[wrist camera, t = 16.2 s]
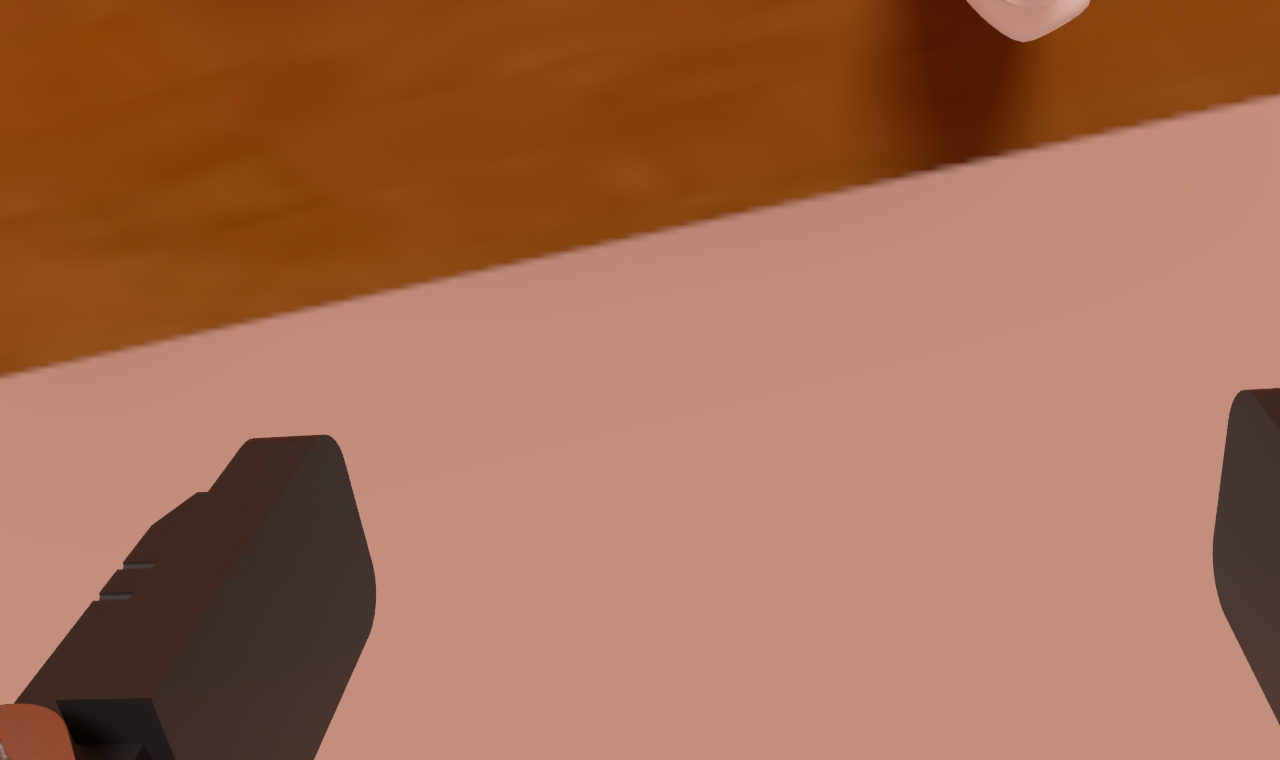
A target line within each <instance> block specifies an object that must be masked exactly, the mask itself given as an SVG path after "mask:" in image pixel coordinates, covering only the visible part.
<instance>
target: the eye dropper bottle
mask: <svg viewBox="0 0 1280 760" xmlns="http://www.w3.org/2000/svg"><path fill="white" fill-rule="evenodd" d="M966 1H967V2H968V3H969V4H970V5H971V6H972V8H973V9H974V10H975V11H976V12H977V13H978V14H979V15H980V16H981V17H982V18H984V19H985V20H986V21H987V22H988V23H989V24H990V25H992V26H993V27H994V28H996V29H997V30H998V31H999V32H1001V33H1002V34H1004V35H1006V36H1007V37H1009V38H1011V39H1013V40H1016V41H1021V42H1027V41H1031V40H1035V39H1037V38H1039V37H1042V36H1044V35H1046V34H1048V33H1050V32H1051V31H1053V30H1055V29H1057V28H1059V27H1060V26H1062V25H1064V24H1066V23H1067V22H1069V21H1071V20H1072V19H1074V18H1075V17H1077V16H1078V15H1080V14H1081V13H1082V12H1083V11H1084V9H1085V8H1086V7H1087V6H1088V5H1089V3H1090V0H966Z"/></svg>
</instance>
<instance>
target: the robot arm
mask: <svg viewBox="0 0 1280 760" xmlns="http://www.w3.org/2000/svg"><path fill="white" fill-rule="evenodd" d="M123 564H124V567H123V570H117V571H116V572H115V573H114V575H113V576H112V577H111V579H110V580H109V581H108V583H107V584H106V585H105V586H104V588H103V589H102V590H101V592H100V593H99V594H100V599H99V601H93V602H92V603H91V604H90V606H89V607H88V608H87V610H86V611H85V612H84V614H83V615H82V616H81V617H80V619H79V620H78V621H77V623H76V624H75V625H74V626H73V628H72V629H71V630H70V632H69V633H68V634H67V635H66V637H65V638H64V639H63V641H62V642H61V643H60V644H59V646H58V647H57V648H56V650H55V651H54V652H53V654H52V655H51V656H50V657H49V659H48V660H47V661H46V663H45V664H44V665H43V667H42V668H41V669H40V670H39V672H38V673H37V674H36V676H35V677H34V678H33V679H32V681H31V682H30V683H29V685H28V686H27V687H26V688H25V690H24V691H23V692H22V694H21V695H20V696H19V697H18V699H17V700H16V701H15V703H14V704H5V705H0V760H314V758H315V756H316V754H317V751H318V749H319V747H320V745H321V742H322V740H323V738H324V735H325V733H326V731H327V729H328V727H329V724H330V722H331V720H332V718H333V715H334V713H335V711H336V709H337V706H338V704H339V702H340V700H341V697H342V695H343V693H344V691H345V688H346V686H347V684H348V682H349V679H350V677H351V675H352V672H353V670H354V668H355V666H356V663H357V661H358V659H359V657H360V655H361V652H362V650H363V648H364V646H365V643H366V641H367V639H368V637H369V634H370V631H371V628H372V624H373V620H374V615H375V606H376V584H375V575H374V569H373V564H372V561H371V557H370V553H369V549H368V546H367V542H366V538H365V535H364V531H363V527H362V524H361V520H360V517H359V512H358V509H357V505H356V501H355V498H354V494H353V490H352V487H351V483H350V479H349V475H348V472H347V468H346V465H345V461H344V458H343V454H342V452H341V450H340V447H339V446H338V444H337V443H336V441H335V440H334V439H333V438H332V437H331V436H329V435H311V436H291V437H271V438H253V439H250V440H248V441H247V442H245V443H244V444H243V446H241V448H240V449H239V451H238V452H237V453H236V455H235V456H234V457H233V459H232V461H230V463H229V464H228V466H227V467H226V468H225V470H224V471H223V472H222V474H221V475H220V476H219V478H218V479H217V481H216V482H215V483H214V485H213V486H212V487H211V489H210V490H209V491H208V492H197V493H196V494H194V495H193V496H192V497H190V498H189V499H187V500H186V501H185V502H183V503H182V504H181V505H179V506H178V507H176V508H175V509H174V510H172V511H171V512H170V513H168V514H167V515H166V516H164V517H163V518H161V519H160V520H158V521H157V522H156V523H154V524H153V525H152V526H151V527H150V528H149V530H148V531H147V532H146V533H145V535H144V536H143V537H142V539H141V540H140V541H139V542H138V544H137V545H136V546H135V548H134V549H133V550H132V552H131V553H130V554H129V555H128V557H127V558H126V560H125V561H124V562H123ZM1213 566H1214V567H1213V568H1214V576H1215V583H1216V588H1217V593H1218V597H1219V600H1220V604H1221V607H1222V610H1223V612H1224V614H1225V616H1226V618H1227V620H1228V622H1229V624H1230V626H1231V628H1232V630H1233V632H1234V634H1235V636H1236V638H1237V640H1238V642H1239V644H1240V646H1241V648H1242V650H1243V652H1244V654H1245V656H1246V658H1247V661H1248V662H1249V664H1250V667H1251V669H1252V671H1253V672H1254V675H1255V677H1256V678H1257V681H1258V683H1259V685H1260V687H1261V688H1262V691H1263V693H1264V694H1265V697H1266V699H1267V700H1268V702H1269V704H1270V707H1271V708H1272V710H1273V713H1274V714H1275V716H1276V719H1277V721H1278V722H1279V725H1280V388H1273V389H1254V390H1243V391H1240V392H1239V393H1238V394H1237V395H1236V397H1235V399H1234V401H1233V403H1232V406H1231V410H1230V414H1229V420H1228V428H1227V436H1226V444H1225V452H1224V459H1223V467H1222V475H1221V483H1220V491H1219V499H1218V507H1217V514H1216V522H1215V530H1214V539H1213Z"/></svg>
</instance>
